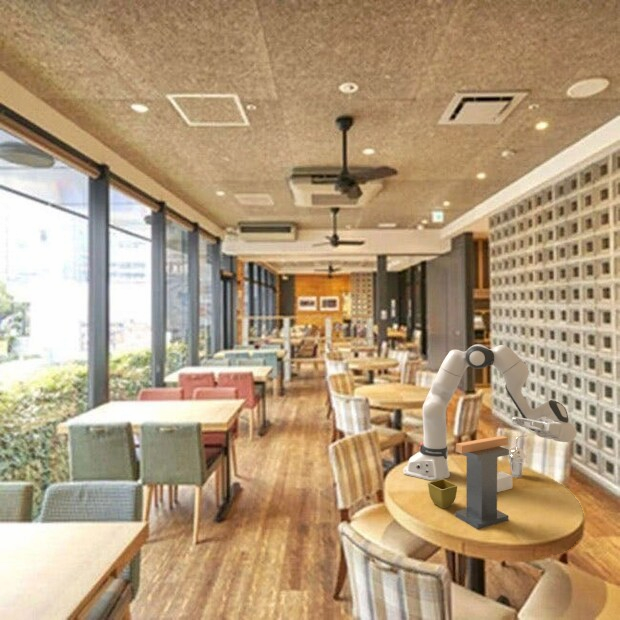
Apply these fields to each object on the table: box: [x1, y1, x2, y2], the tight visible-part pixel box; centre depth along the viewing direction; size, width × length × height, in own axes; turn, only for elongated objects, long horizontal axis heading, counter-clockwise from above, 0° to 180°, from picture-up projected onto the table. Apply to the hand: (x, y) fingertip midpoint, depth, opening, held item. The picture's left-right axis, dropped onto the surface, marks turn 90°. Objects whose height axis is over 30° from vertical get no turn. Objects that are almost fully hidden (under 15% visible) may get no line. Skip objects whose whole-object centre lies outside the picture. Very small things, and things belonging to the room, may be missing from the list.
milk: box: [497, 471, 513, 493], centre depth 213 cm, size 6×6×22 cm
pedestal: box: [454, 446, 510, 530], centre depth 185 cm, size 16×12×28 cm
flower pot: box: [427, 479, 458, 509], centre depth 198 cm, size 9×9×9 cm
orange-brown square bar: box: [455, 435, 509, 454], centre depth 185 cm, size 24×3×3 cm, turn 115°
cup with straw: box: [506, 434, 528, 478], centre depth 230 cm, size 8×9×20 cm
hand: (522, 421), depth 198 cm, fingers open, 8 cm apart
